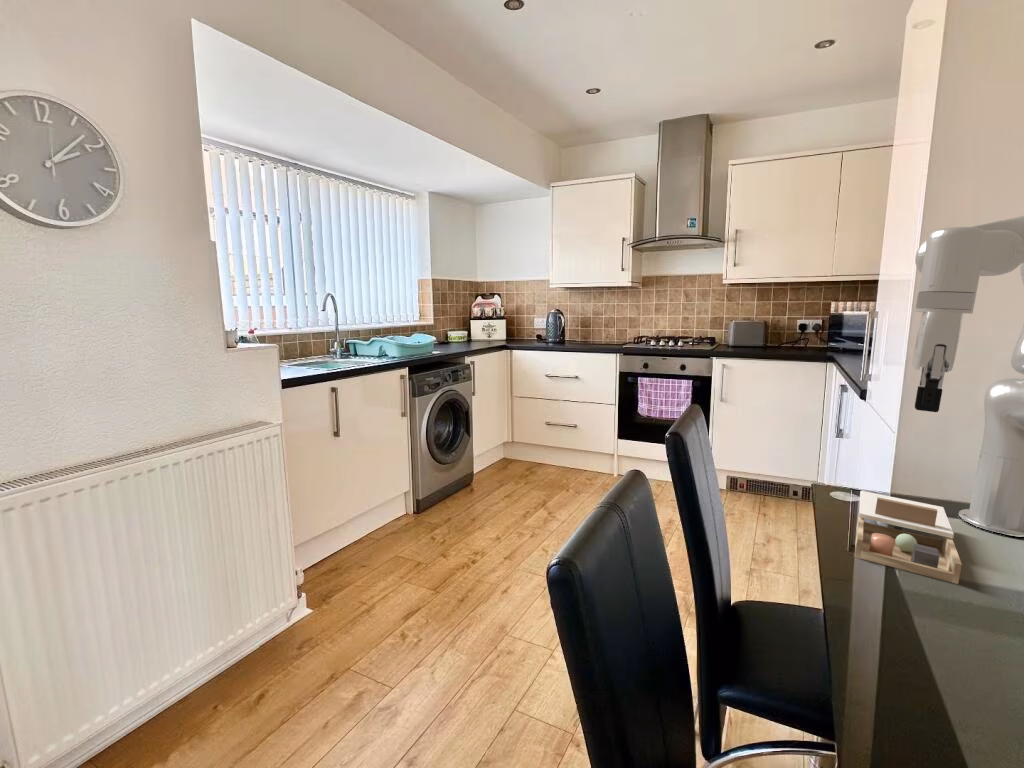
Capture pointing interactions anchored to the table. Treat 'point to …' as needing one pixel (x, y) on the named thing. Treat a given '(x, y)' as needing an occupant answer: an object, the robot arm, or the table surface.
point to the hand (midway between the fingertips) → (926, 410)
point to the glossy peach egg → (882, 544)
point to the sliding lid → (905, 513)
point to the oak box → (902, 560)
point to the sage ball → (905, 542)
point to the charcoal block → (925, 555)
